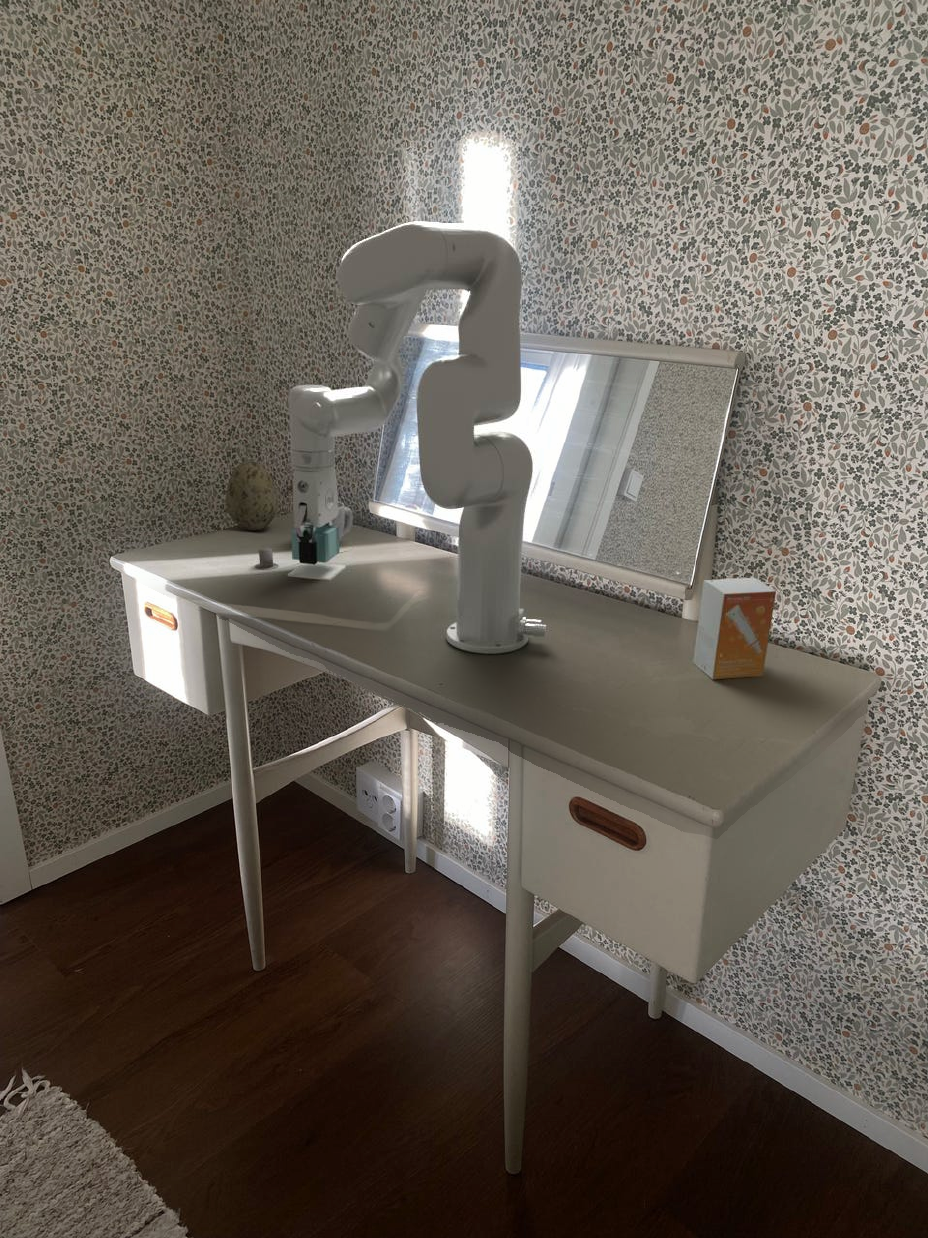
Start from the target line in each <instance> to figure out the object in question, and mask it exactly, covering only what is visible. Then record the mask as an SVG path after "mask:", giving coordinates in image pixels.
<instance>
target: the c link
mask: <svg viewBox="0 0 928 1238" xmlns="http://www.w3.org/2000/svg"><path fill="white" fill-rule="evenodd" d="M305 524H310V523H305ZM310 525H312V524H310ZM305 530H307V531H308V532H309V534H310V530H311V529H309V528H305ZM290 534H291V538H290V539H291V540H290V541H291V557H292V560H295V561H299V542H298V540H297V538H298V537H297V533H296V532H295V530H294V529H293V530H292V531H291V533H290ZM314 542H317V563H324V564H327V563H328V562H329V561H330V560H332V559H333V558H335V557H336V556H337V555H338V554H340V543H339V526H331V525H324V526H322V527H320V528H318V527H316V533H315V541H314Z"/></svg>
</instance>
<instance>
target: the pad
mask: <svg viewBox="0 0 928 1238" xmlns="http://www.w3.org/2000/svg"><path fill="white" fill-rule="evenodd" d="M346 568H347V565H344V564H331V563H322V562H317V563H316V564H315V565H313V564H304V563H301V564H300V565H299V566H297V567H296V568H294V569H293V570H291V571H290V572H289V573H287V577H293V578H304V579H312V580H320V581H321V580H322V581H328V582H329V581H331V580H332V579H334V578H335V577H336V576H337V575H339V574H340V573H341V572H342V571H344V570H345V569H346Z"/></svg>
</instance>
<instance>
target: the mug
mask: <svg viewBox="0 0 928 1238" xmlns="http://www.w3.org/2000/svg"><path fill="white" fill-rule="evenodd" d="M338 507H339V513H338V515H337V517H336V518H334V519H333V520H332V525H333V526H339V544H340V543H341V540H342V539H343V538H344V537H346V536H348V535H349V533H350V531H351V529H352V525H353V522H354V517H353V511H352V509H351V508H350V507H348V506H345V503H344V502H342V501H340V500H338ZM305 523H310V524H311V522H308V521H307V522H305Z"/></svg>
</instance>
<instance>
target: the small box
mask: <svg viewBox="0 0 928 1238" xmlns="http://www.w3.org/2000/svg"><path fill="white" fill-rule="evenodd" d="M702 582H703V584H702V592H701V598H700V599H701V601H700V606H699V607H700V608H699V615H698V616H699V617H698V623H697V631H696V640H695V649H694V655H693V664H694V665H695V666H696V667H697V668H698V669H700V670H701V671H702V672H703V673H704V674H706V676H708V677H709V678H710V679H711V680H714V681H715V680H722V679H735V678H736V679H737V678H750V677H763V675H764V670H765V662H766V659H767V653H768V645H769V638H770V632H771V625H772V618H773V612H774V607H775V601H776V594H777V590H775V589H774V588H772V587H770V586H768V585H767V584H766V583H763V582H762V581H760V580H759V579H758V578H755V577H747V578H742V577H741V578H740V577H739V578H736V577H735V578H734V577H733V578H720V579H708V580H707V579H704V580H703V581H702Z"/></svg>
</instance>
